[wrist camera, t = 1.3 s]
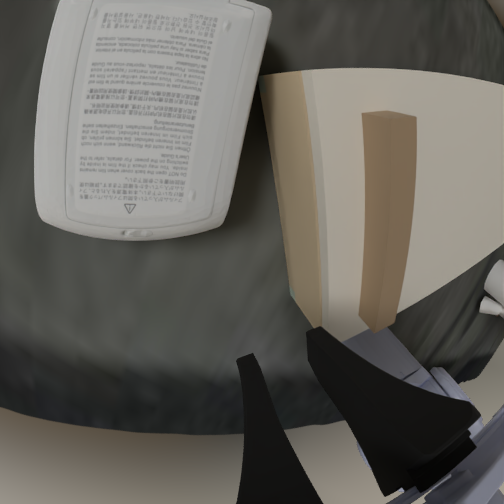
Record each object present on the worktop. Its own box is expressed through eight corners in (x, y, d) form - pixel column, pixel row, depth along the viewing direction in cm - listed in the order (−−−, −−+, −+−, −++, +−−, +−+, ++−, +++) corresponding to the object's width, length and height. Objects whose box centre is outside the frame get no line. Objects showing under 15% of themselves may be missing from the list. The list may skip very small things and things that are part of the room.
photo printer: (72, 7, 9) (52, 218, 14) (50, -18, 5) (29, 254, 11) (255, 22, 12) (216, 221, 18) (289, 4, 9) (235, 256, 15)
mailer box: (476, 212, 28) (506, 230, 24) (290, 294, 23) (320, 337, 19) (485, 81, 19) (523, 90, 15) (257, 76, 14) (298, 71, 10)
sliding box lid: (508, 231, 23) (524, 242, 21) (322, 340, 19) (341, 368, 17) (526, 91, 15) (546, 98, 12) (301, 70, 10) (338, 68, 8)
